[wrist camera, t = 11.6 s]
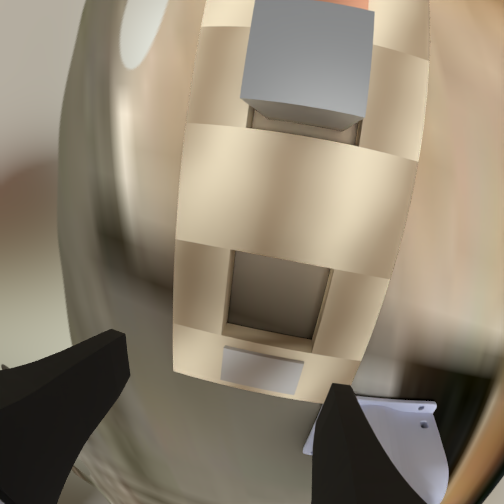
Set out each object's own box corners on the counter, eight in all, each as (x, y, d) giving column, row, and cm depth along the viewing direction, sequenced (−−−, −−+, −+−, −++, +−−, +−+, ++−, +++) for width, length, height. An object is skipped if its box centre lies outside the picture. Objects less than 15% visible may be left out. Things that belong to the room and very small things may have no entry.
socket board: (421, 9, 11) (430, -3, 10) (340, 391, 20) (341, 408, 19) (220, -20, 13) (212, -33, 11) (180, 358, 22) (171, 373, 20)
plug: (350, 63, 14) (374, 11, 7) (342, 131, 15) (365, 117, 9) (277, 52, 14) (255, -5, 8) (268, 119, 16) (239, 97, 9)
